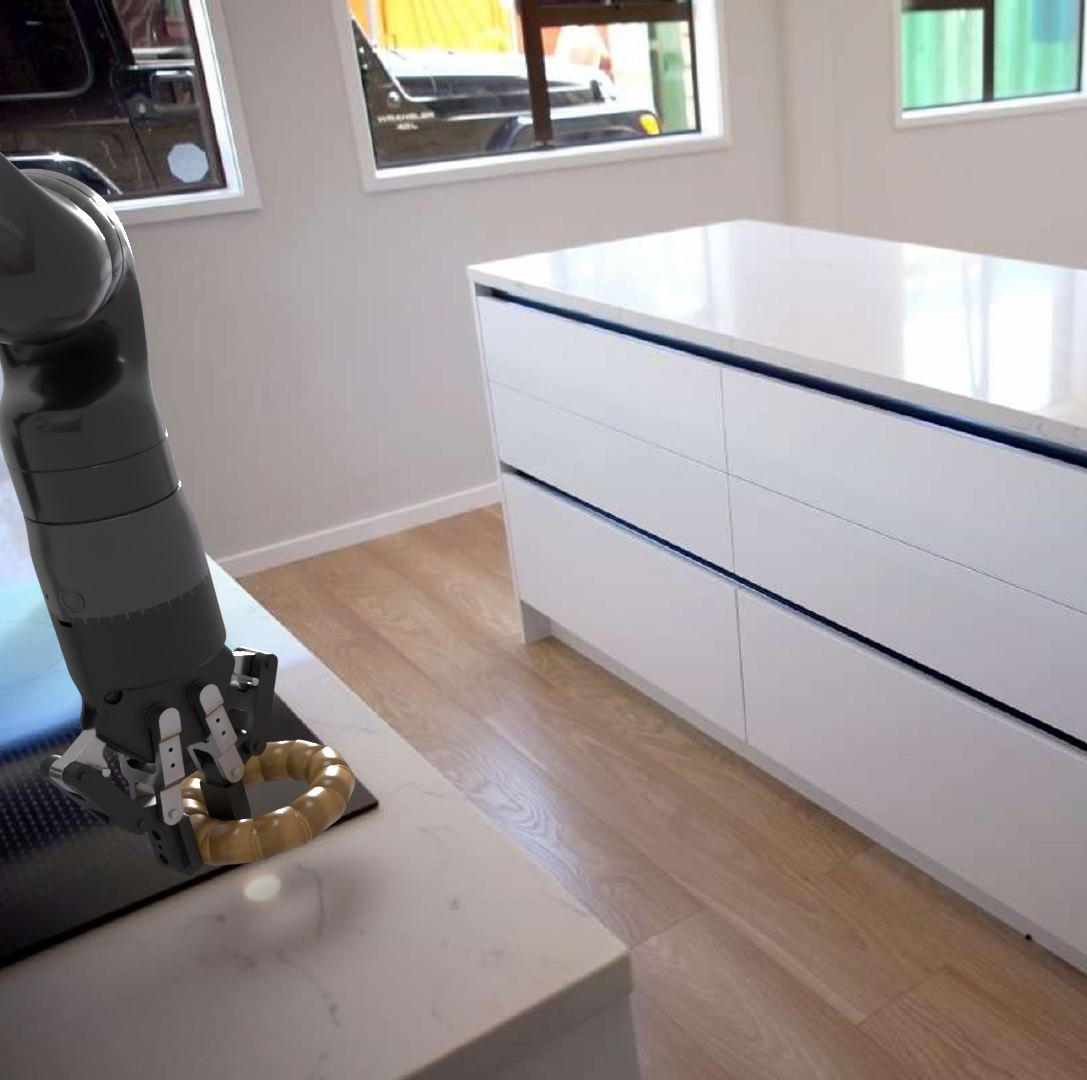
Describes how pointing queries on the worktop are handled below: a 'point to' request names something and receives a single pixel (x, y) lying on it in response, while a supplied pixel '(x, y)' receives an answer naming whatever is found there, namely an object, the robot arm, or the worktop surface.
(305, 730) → the worktop surface
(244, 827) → the ring
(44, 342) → the robot arm
